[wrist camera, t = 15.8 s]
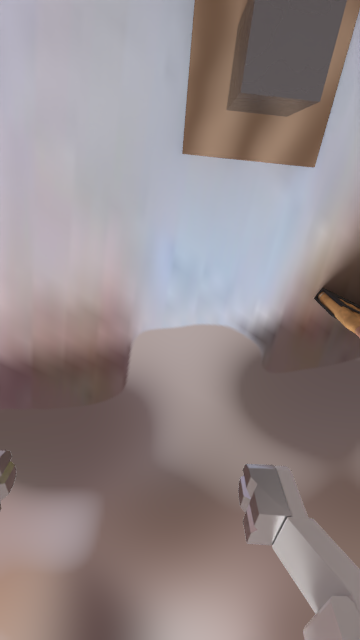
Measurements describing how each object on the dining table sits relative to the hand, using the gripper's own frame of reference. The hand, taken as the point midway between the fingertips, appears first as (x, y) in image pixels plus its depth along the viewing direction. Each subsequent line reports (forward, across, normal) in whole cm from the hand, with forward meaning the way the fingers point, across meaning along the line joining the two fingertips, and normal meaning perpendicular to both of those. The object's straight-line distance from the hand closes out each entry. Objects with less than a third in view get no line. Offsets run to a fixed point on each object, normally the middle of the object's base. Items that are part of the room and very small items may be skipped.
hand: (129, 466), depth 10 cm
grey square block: (+28, -8, -17) cm, 34 cm away
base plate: (+29, -8, -17) cm, 35 cm away
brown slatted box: (+29, -26, +6) cm, 40 cm away
